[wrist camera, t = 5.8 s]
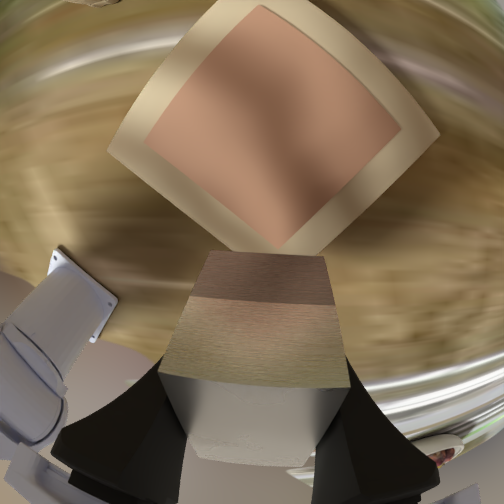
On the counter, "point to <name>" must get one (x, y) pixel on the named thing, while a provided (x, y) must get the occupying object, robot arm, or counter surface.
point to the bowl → (440, 447)
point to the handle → (94, 2)
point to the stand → (272, 127)
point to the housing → (257, 359)
